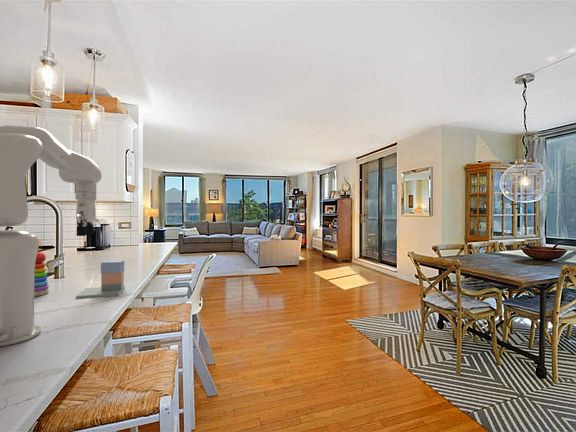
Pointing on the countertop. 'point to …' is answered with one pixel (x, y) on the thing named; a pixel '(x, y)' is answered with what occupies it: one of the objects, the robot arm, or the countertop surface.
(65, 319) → the countertop surface
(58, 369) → the countertop surface
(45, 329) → the countertop surface
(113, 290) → the build plate
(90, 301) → the countertop surface
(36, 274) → the stacking toy
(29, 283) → the robot arm
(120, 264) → the slate brick
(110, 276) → the terracotta brick
